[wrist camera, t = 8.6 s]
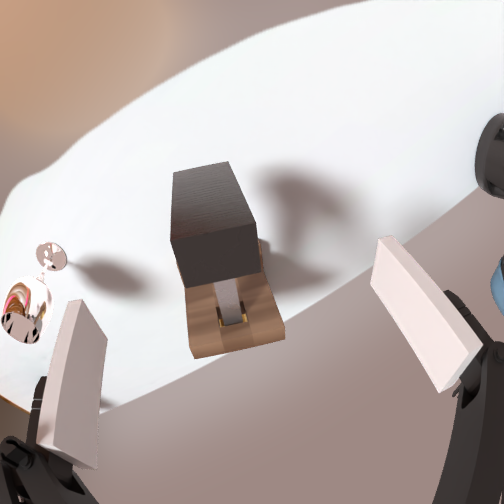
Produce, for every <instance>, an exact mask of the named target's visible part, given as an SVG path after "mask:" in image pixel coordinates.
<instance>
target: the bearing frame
mask: <svg viewBox="0 0 504 504" xmlns="http://www.w3.org/2000/svg"><path fill="white" fill-rule="evenodd" d="M258 245H259V254H260V263H261V272H260V273H256V274H251V275H247V276H242V277H238V278H235V283H236V288H237V293H238V298H239V303H240V308H241V313H242V314H246V318H247V322H243V323H239V324H234V325H229V326H225V327H220V321H219V319H223V318H222V314H221V310H220V307H219V303H218V299H217V295H216V291H215V287H214V284H213V283H210V284H205V285H201V286H196V287H191V288H185V301H186V315H187V327H188V338H189V348H190V350H191V352H192V354H193V356H194V359H199V358H204V357H209V356H214V355H219V354H224V353H229V352H233V351H238V350H242V349H247V348H251V347H255V346H259V345H264V344H268V343H272V342H276V341H280V340H284V339H285V326H284V323H283V321H282V318H281V315H280V313H279V310H278V308H277V305H276V302H275V300H274V297H273V294H272V292H271V289H270V287H269V284H268V281H267V279H266V276H265V274H264V271H263V262H262V252H261V245H260V242H259V240H258ZM176 263H177V261H176ZM177 266H178V264H177ZM178 269H179V267H178ZM179 273H180V270H179ZM180 276H181V273H180ZM181 279H182V276H181ZM182 282H183V279H182ZM183 284H184V282H183ZM184 287H185V285H184Z"/></svg>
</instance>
